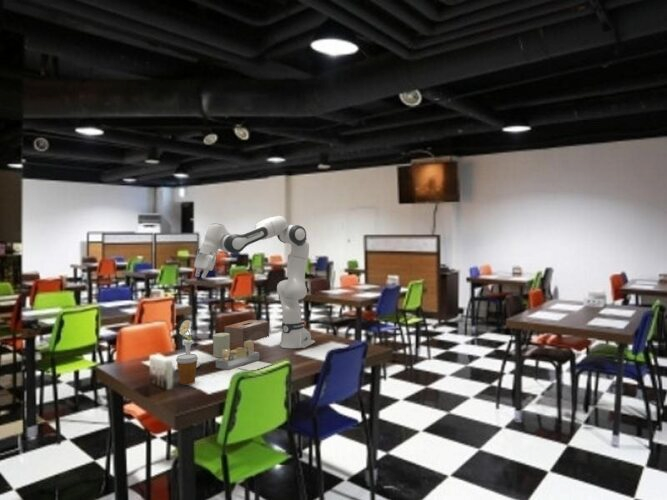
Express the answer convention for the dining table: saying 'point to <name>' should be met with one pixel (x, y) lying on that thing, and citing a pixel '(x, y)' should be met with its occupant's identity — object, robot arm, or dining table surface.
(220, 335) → the can
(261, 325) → the tissue box cover
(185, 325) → the flower in vase
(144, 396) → the dining table surface
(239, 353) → the lever cap
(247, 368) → the mat
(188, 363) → the disposable coffee cup
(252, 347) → the hand plane
